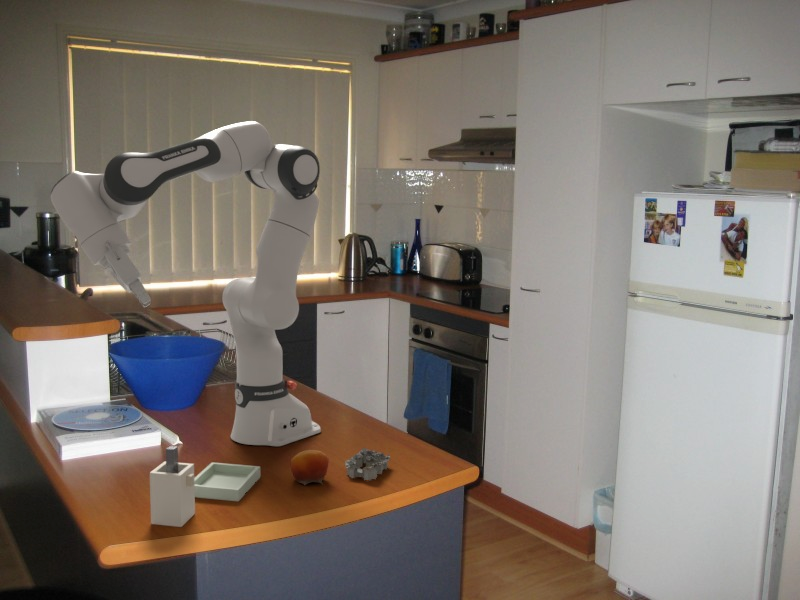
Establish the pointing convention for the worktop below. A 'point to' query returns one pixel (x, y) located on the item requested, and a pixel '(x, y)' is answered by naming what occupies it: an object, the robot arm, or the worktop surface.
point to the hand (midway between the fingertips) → (147, 303)
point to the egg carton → (367, 464)
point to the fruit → (309, 466)
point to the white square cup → (172, 495)
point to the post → (172, 459)
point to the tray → (225, 481)
